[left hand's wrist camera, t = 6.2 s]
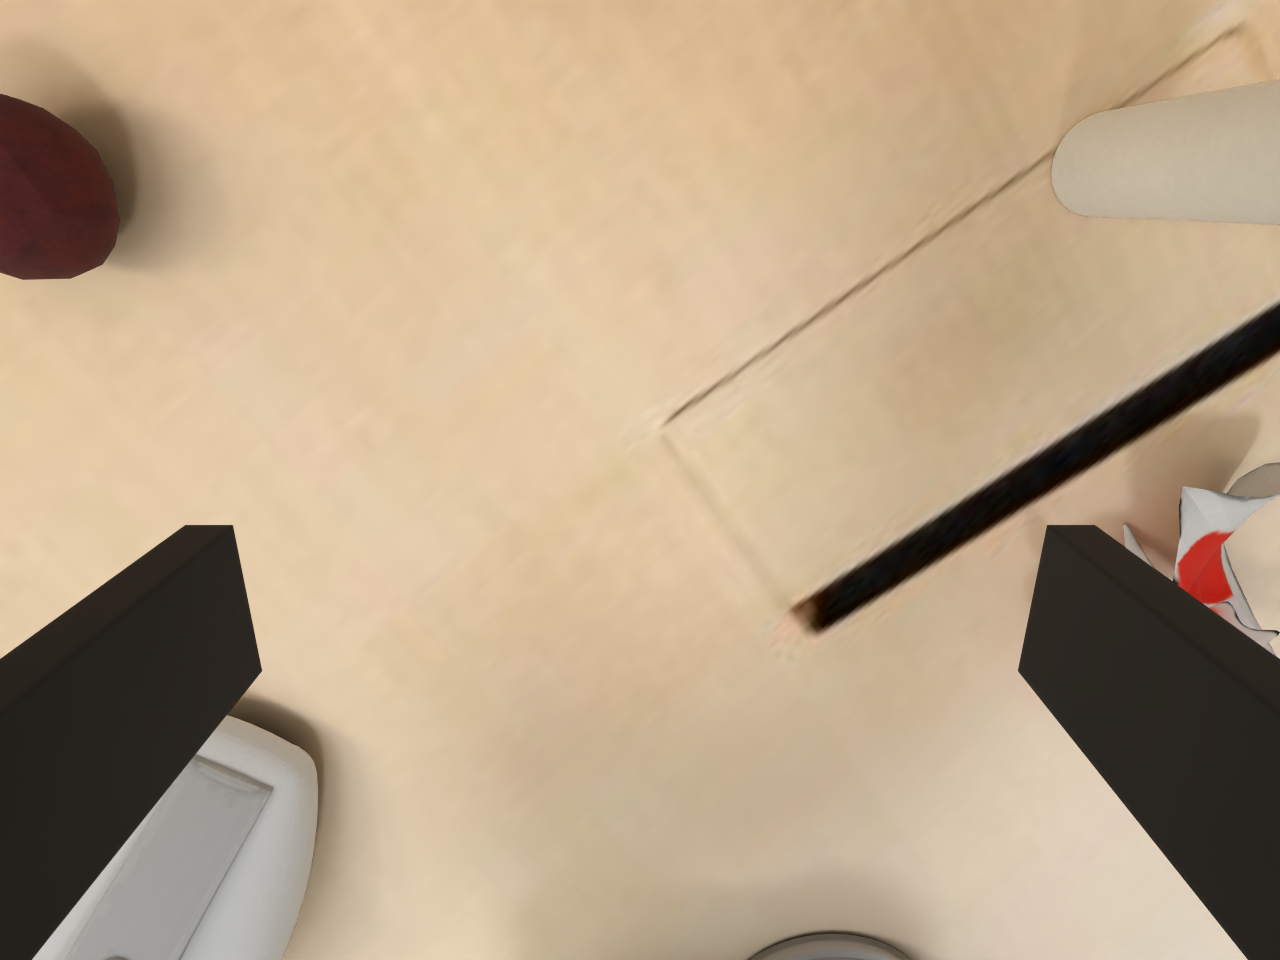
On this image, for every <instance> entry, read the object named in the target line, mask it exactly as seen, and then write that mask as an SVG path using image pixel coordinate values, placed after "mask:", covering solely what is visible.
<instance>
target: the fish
mask: <svg viewBox="0 0 1280 960" xmlns="http://www.w3.org/2000/svg"><path fill="white" fill-rule="evenodd" d="M1279 495H1280V463H1270V464H1265V465H1263V466H1261V467H1259V468H1257V469H1255V470H1253V471H1251V472H1249V473H1248V474H1246V475H1244V476H1242V477H1241V478H1239V479H1238V480H1237V481H1236V482H1235V483H1234V485H1233V486H1232V487H1231V489H1230V490H1229V491H1228V492H1227V494H1225V493H1221V492H1216V491H1211V490H1205V489H1198V488H1192V487H1185V486H1183V488H1182V493H1181V499H1180V505H1179V519H1180V539H1179V545H1178V551H1177V558H1176V564H1175V571H1174V578H1173V582H1174V583H1175V584H1177V585H1178V586H1179V587H1181V588H1182V589H1184V590H1185V591H1186V592H1188V593H1189V594H1190V595H1192V596H1193V597H1195V598H1196V599H1197V600H1199V601H1200V602H1202V603H1203V604H1204V605H1206V606H1207V607H1208V608H1210V609H1211V610H1213V611H1214V612H1215V613H1217V614H1218V615H1220V616H1221V617H1222V618H1224V619H1225V620H1226V621H1228V622H1229V623H1231V624H1232V625H1233V626H1235V627H1236V628H1237V629H1239V630H1240V631H1242V632H1243V633H1244V634H1246V635H1247V636H1249V637H1250V638H1251V639H1253V640H1254V641H1255V642H1257V643H1258V644H1260V645H1261V646H1262V647H1264V648H1265V649H1267V650H1268V651H1269V652H1271V653H1272V654H1273V655H1275V653H1274V651H1273V649H1272V647H1271V646H1270V644H1269V641H1271V640H1272V639H1273V638H1275V637H1276V636H1278V634H1279V633H1280V632H1278V631H1276V630H1262V629H1261V628H1260V626H1259V624H1258V622H1257V620H1256V619H1255V617H1254V615H1253V613H1252V611H1251V609H1250V606H1249V604H1248V602H1247V600H1246V598H1245V596H1244V594H1243V591H1242V589H1241V587H1240V585H1239V583H1238V581H1237V579H1236V576H1235V574H1234V572H1233V570H1232V568H1231V565H1230V562H1229V559H1228V556H1227V553H1226V550H1225V547H1224V544H1223V542H1224V541H1225V540H1226V539H1228V537H1229V536H1230V535H1231V534H1232V533H1233V532H1234V531H1235V530H1236V529H1237V528H1238V527H1239V526H1240V525H1241V524H1242V523H1243V522H1244V521H1245V520H1246V519H1247V518H1248V517H1249V516H1251V515H1252V514H1253V513H1254V512H1255V511H1257V510H1258V509H1259V508H1260V507H1262V506H1263V505H1264V504H1265V503H1267V502H1268V501H1270V500H1272V499H1273V498H1275V497H1277V496H1279ZM1123 531H1124V541H1125V547H1126V548H1127V549H1128V550H1130V551H1131V552H1132V553H1134V554H1135V555H1137V556H1138V557H1139V558H1141V559H1142V560H1143V561H1145V562H1146V563H1148V564H1149V565H1150V566H1152V567H1153V565H1152V563H1151V562H1150V560H1149V559H1148V557H1147V556H1146V555H1145V553H1144V552H1143V550H1142V549H1141V547H1140V546H1139V544H1138V542H1137V541H1136V539H1135V537H1134V536H1133V534H1132V532H1131V531H1130V529H1129V527H1128V526H1127V525H1123ZM1153 568H1154V567H1153ZM1275 656H1276V655H1275ZM1276 657H1277V656H1276Z"/></svg>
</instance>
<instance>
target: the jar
mask: <svg viewBox="0 0 1280 960" xmlns="http://www.w3.org/2000/svg"><path fill="white" fill-rule="evenodd" d="M1051 180H1052V186H1053V189H1054V192H1055V194H1056V196H1057V198H1058V200H1059V201H1060V202H1061V204H1062V205H1063V206H1064V207H1065V208H1067V209H1068V210H1069V211H1071V212H1073V213H1075V214H1078V215H1081V216H1088V217H1110V218H1133V219H1155V220H1177V221H1199V222H1221V223H1243V224H1266V225H1280V79H1278V80H1272V81H1267V82H1261V83H1256V84H1250V85H1245V86H1239V87H1234V88H1228V89H1223V90H1217V91H1212V92H1207V93H1201V94H1196V95H1190V96H1185V97H1179V98H1174V99H1168V100H1163V101H1157V102H1152V103H1146V104H1141V105H1136V106H1130V107H1125V108H1119V109H1114V110H1108V111H1103V112H1099V113H1095V114H1093V115H1090V116H1088V117H1086V118H1085V119H1083V120H1081V121H1080V122H1079V123H1077V124H1076V125H1075V126H1074V127H1073V128H1071V130H1070V131H1069V132H1068V133H1067V134H1066V135H1065V137H1064V138H1063V139H1062V141H1061V143H1060V144H1059V146H1058V148H1057V150H1056V153H1055V155H1054V159H1053V163H1052V169H1051Z"/></svg>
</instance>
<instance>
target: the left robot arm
mask: <svg viewBox="0 0 1280 960" xmlns="http://www.w3.org/2000/svg"><path fill="white" fill-rule="evenodd" d="M261 672H262V668H261V663H260V658H259V653H258V648H257V643H256V638H255V633H254V628H253V623H252V618H251V613H250V608H249V603H248V598H247V593H246V588H245V583H244V579H243V574H242V569H241V564H240V559H239V554H238V549H237V544H236V539H235V534H234V529H233V525H185V526H184V527H182V528H181V529H179V530H178V531H177V532H175V533H174V534H172V535H171V536H170V537H168V538H167V539H166V540H164V541H163V542H161V543H160V544H159V545H157V546H156V547H154V548H153V549H152V550H150V551H149V552H148V553H146V554H145V555H143V556H142V557H141V558H139V559H138V560H137V561H135V562H134V563H132V564H131V565H130V566H128V567H127V568H125V569H124V570H123V571H121V572H120V573H119V574H117V575H116V576H114V577H113V578H112V579H110V580H109V581H107V582H106V583H105V584H103V585H102V586H101V587H99V588H98V589H96V590H95V591H94V592H92V593H91V594H90V595H88V596H87V597H85V598H84V599H83V600H81V601H80V602H78V603H77V604H76V605H74V606H73V607H72V608H70V609H69V610H67V611H66V612H65V613H63V614H62V615H60V616H59V617H58V618H56V619H55V620H54V621H52V622H51V623H49V624H48V625H47V626H45V627H44V628H43V629H41V630H40V631H38V632H37V633H36V634H34V635H33V636H31V637H30V638H29V639H27V640H26V641H25V642H23V643H22V644H20V645H19V646H18V647H16V648H15V649H13V650H12V651H11V652H9V653H8V654H7V655H5V656H4V657H2V658H1V659H0V960H32V959H33V958H34V957H35V955H36V954H37V953H38V952H39V950H40V949H41V948H42V947H43V945H44V944H45V943H46V942H47V940H48V939H49V938H50V936H51V935H52V934H53V933H54V931H55V930H56V929H57V928H58V926H59V925H60V924H61V923H62V921H63V920H64V919H65V918H66V916H67V915H68V914H69V913H70V911H71V910H72V909H73V908H74V906H75V905H76V904H77V903H78V901H79V900H80V899H81V898H82V896H83V895H84V894H85V893H86V891H87V890H88V889H89V888H90V886H91V885H92V884H93V883H94V881H95V880H96V879H97V877H98V876H99V875H100V874H101V872H102V871H103V870H104V869H105V867H106V866H107V865H108V864H109V862H110V861H111V860H112V859H113V857H114V856H115V855H116V854H117V852H118V851H119V850H120V849H121V847H122V846H123V845H124V844H125V842H126V841H127V840H128V839H129V837H130V836H131V835H132V834H133V832H134V831H135V830H136V829H137V827H138V826H139V825H140V823H141V822H142V821H143V820H144V818H145V817H146V816H147V815H148V813H149V812H150V811H151V810H152V808H153V807H154V806H155V805H156V803H157V802H158V801H159V800H160V798H161V797H162V796H163V795H164V793H165V792H166V791H167V790H168V788H169V787H170V786H171V785H172V783H173V782H174V781H175V780H176V778H177V777H178V776H179V775H180V773H181V772H182V771H183V769H184V768H185V767H186V766H187V764H188V763H189V762H190V761H191V759H192V758H193V757H194V756H195V754H196V753H197V752H198V751H199V749H200V748H201V747H202V746H203V744H204V743H205V742H206V741H207V739H208V738H209V737H210V736H211V734H212V733H213V732H214V731H215V729H216V728H217V727H218V726H219V724H220V723H221V722H222V721H223V719H224V718H225V717H226V715H227V714H228V713H229V712H230V710H231V709H232V708H233V707H234V705H235V704H236V703H237V702H238V700H239V699H240V698H241V697H242V695H243V694H244V693H245V692H246V690H247V689H248V688H249V687H250V685H251V684H252V683H253V682H254V680H255V679H256V678H257V677H258V675H259V674H260V673H261ZM1018 672H1019V673H1020V674H1021V675H1022V677H1023V678H1024V679H1025V680H1026V682H1027V683H1028V684H1029V685H1030V687H1031V688H1032V689H1033V690H1034V692H1035V693H1036V694H1037V695H1038V697H1039V698H1040V699H1041V700H1042V702H1043V703H1044V704H1045V705H1046V707H1047V708H1048V709H1049V710H1050V712H1051V713H1052V714H1053V715H1054V717H1055V718H1056V719H1057V721H1058V722H1059V723H1060V724H1061V726H1062V727H1063V728H1064V729H1065V731H1066V732H1067V733H1068V734H1069V736H1070V737H1071V738H1072V739H1073V741H1074V742H1075V743H1076V744H1077V746H1078V747H1079V748H1080V749H1081V751H1082V752H1083V753H1084V754H1085V756H1086V757H1087V758H1088V759H1089V761H1090V762H1091V763H1092V764H1093V766H1094V767H1095V768H1096V769H1097V771H1098V772H1099V773H1100V775H1101V776H1102V777H1103V778H1104V780H1105V781H1106V782H1107V783H1108V785H1109V786H1110V787H1111V788H1112V790H1113V791H1114V792H1115V793H1116V795H1117V796H1118V797H1119V798H1120V800H1121V801H1122V802H1123V803H1124V805H1125V806H1126V807H1127V808H1128V810H1129V811H1130V812H1131V813H1132V815H1133V816H1134V817H1135V818H1136V820H1137V821H1138V822H1139V823H1140V825H1141V826H1142V827H1143V829H1144V830H1145V831H1146V832H1147V834H1148V835H1149V836H1150V837H1151V839H1152V840H1153V841H1154V842H1155V844H1156V845H1157V846H1158V847H1159V849H1160V850H1161V851H1162V852H1163V854H1164V855H1165V856H1166V857H1167V859H1168V860H1169V861H1170V862H1171V864H1172V865H1173V866H1174V867H1175V869H1176V870H1177V871H1178V872H1179V874H1180V875H1181V876H1182V877H1183V879H1184V880H1185V881H1186V883H1187V884H1188V885H1189V886H1190V888H1191V889H1192V890H1193V891H1194V893H1195V894H1196V895H1197V896H1198V898H1199V899H1200V900H1201V901H1202V903H1203V904H1204V905H1205V906H1206V908H1207V909H1208V910H1209V911H1210V913H1211V914H1212V915H1213V916H1214V918H1215V919H1216V920H1217V921H1218V923H1219V924H1220V925H1221V926H1222V928H1223V929H1224V930H1225V931H1226V933H1227V934H1228V935H1229V936H1230V938H1231V939H1232V940H1233V942H1234V943H1235V944H1236V945H1237V947H1238V948H1239V949H1240V950H1241V952H1242V953H1243V954H1244V955H1245V957H1246V958H1247V959H1248V960H1280V659H1279V658H1278V657H1276V656H1275V655H1273V654H1272V653H1271V652H1269V651H1268V650H1267V649H1265V648H1264V647H1262V646H1261V645H1260V644H1258V643H1257V642H1255V641H1254V640H1253V639H1251V638H1250V637H1249V636H1247V635H1246V634H1244V633H1243V632H1242V631H1240V630H1239V629H1237V628H1236V627H1235V626H1233V625H1232V624H1231V623H1229V622H1228V621H1226V620H1225V619H1224V618H1222V617H1221V616H1220V615H1218V614H1217V613H1215V612H1214V611H1213V610H1211V609H1210V608H1208V607H1207V606H1206V605H1204V604H1203V603H1202V602H1200V601H1199V600H1197V599H1196V598H1195V597H1193V596H1192V595H1190V594H1189V593H1188V592H1186V591H1185V590H1184V589H1182V588H1181V587H1179V586H1178V585H1177V584H1175V583H1174V582H1173V581H1171V580H1170V579H1168V578H1167V577H1166V576H1164V575H1163V574H1161V573H1160V572H1159V571H1157V570H1156V569H1155V568H1153V567H1152V566H1150V565H1149V564H1148V563H1146V562H1145V561H1143V560H1142V559H1141V558H1139V557H1138V556H1137V555H1135V554H1134V553H1132V552H1131V551H1130V550H1128V549H1127V548H1126V547H1124V546H1123V545H1121V544H1120V543H1119V542H1117V541H1116V540H1114V539H1113V538H1112V537H1110V536H1109V535H1108V534H1106V533H1105V532H1103V531H1102V530H1101V529H1099V528H1098V527H1096V526H1095V525H1047V529H1046V534H1045V539H1044V544H1043V549H1042V554H1041V559H1040V564H1039V569H1038V574H1037V578H1036V583H1035V588H1034V593H1033V598H1032V603H1031V608H1030V613H1029V618H1028V623H1027V628H1026V633H1025V638H1024V643H1023V648H1022V653H1021V658H1020V663H1019V668H1018ZM750 960H910V959H909V958H908V957H906V956H905V955H904V954H902V953H901V952H899V951H898V950H896V949H894V948H893V947H891V946H888V945H886V944H884V943H882V942H879V941H876V940H873V939H869V938H866V937H861V936H856V935H847V934H818V935H810V936H804V937H799V938H795V939H792V940H788V941H785V942H782V943H779V944H777V945H775V946H772V947H770V948H768V949H766V950H764V951H762V952H761V953H759V954H757V955H756V956H754V957H753V958H751V959H750Z"/></svg>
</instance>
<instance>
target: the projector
mask: <svg viewBox="0 0 1280 960" xmlns="http://www.w3.org/2000/svg"><path fill="white" fill-rule="evenodd" d="M317 815H318V781H317V771H316V767H315V764H314V761H313V760H312V758H311V757H310V756H309V755H308V753H306V752H305V751H304V750H303V749H301V748H300V747H298V746H296V745H293V744H291V743H290V742H288V741H286V740H284V739H282V738H280V737H278V736H276V735H275V734H273V733H271V732H268V731H266V730H264V729H262V728H259V727H257V726H255V725H253V724H250V723H248V722H245V721H243V720H240V719H237V718H234V717H231V716H228V715H226V717H225V718H224V719H223V721H222V722H221V723H220V724H219V726H218V727H217V728H216V729H215V731H214V732H213V733H212V734H211V736H210V737H209V738H208V739H207V741H206V742H205V743H204V744H203V746H202V747H201V748H200V749H199V751H198V752H197V753H196V754H195V756H194V757H193V758H192V759H191V761H190V762H189V763H188V764H187V766H186V767H185V768H184V769H183V771H182V772H181V773H180V775H179V776H178V777H177V778H176V780H175V781H174V782H173V783H172V785H171V786H170V787H169V788H168V790H167V791H166V792H165V793H164V795H163V796H162V797H161V798H160V800H159V801H158V802H157V803H156V805H155V806H154V807H153V808H152V810H151V811H150V812H149V813H148V815H147V816H146V817H145V818H144V820H143V821H142V822H141V823H140V825H139V826H138V827H137V829H136V830H135V831H134V832H133V834H132V835H131V836H130V837H129V839H128V840H127V841H126V842H125V844H124V845H123V846H122V847H121V849H120V850H119V851H118V852H117V854H116V855H115V856H114V857H113V859H112V860H111V861H110V862H109V864H108V865H107V866H106V867H105V869H104V870H103V871H102V872H101V874H100V875H99V876H98V877H97V879H96V880H95V881H94V883H93V884H92V885H91V886H90V888H89V889H88V890H87V891H86V893H85V894H84V895H83V896H82V898H81V899H80V900H79V901H78V903H77V904H76V905H75V906H74V908H73V909H72V910H71V911H70V913H69V914H68V915H67V916H66V918H65V919H64V920H63V921H62V923H61V924H60V925H59V926H58V928H57V929H56V930H55V931H54V933H53V934H52V935H51V936H50V938H49V939H48V940H47V942H46V943H45V944H44V945H43V947H42V948H41V949H40V950H39V952H38V953H37V954H36V955H35V957H34V958H33V959H32V960H282V957H283V955H284V953H285V950H286V948H287V946H288V943H289V941H290V938H291V935H292V933H293V930H294V927H295V924H296V922H297V919H298V916H299V913H300V909H301V906H302V902H303V899H304V896H305V892H306V889H307V884H308V879H309V875H310V870H311V865H312V859H313V853H314V846H315V837H316V828H317Z"/></svg>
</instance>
